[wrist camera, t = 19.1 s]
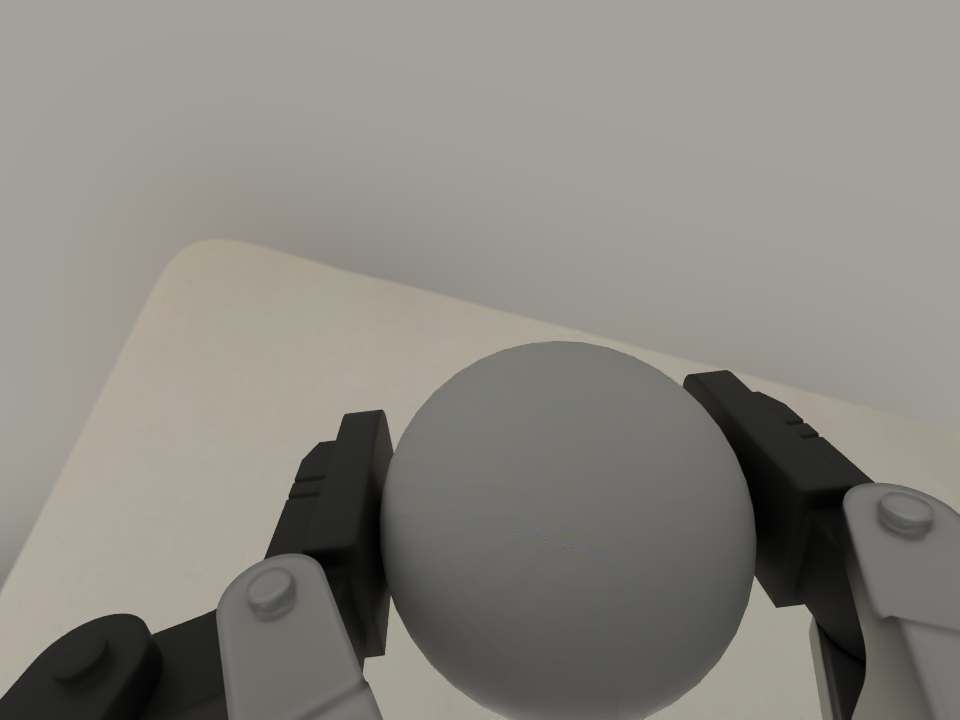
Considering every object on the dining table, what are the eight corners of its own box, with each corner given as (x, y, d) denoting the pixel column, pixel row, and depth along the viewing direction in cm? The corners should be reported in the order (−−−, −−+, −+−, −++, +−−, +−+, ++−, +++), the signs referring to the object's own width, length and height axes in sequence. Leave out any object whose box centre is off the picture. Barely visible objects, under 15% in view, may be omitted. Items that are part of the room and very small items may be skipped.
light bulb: (641, 639, 15) (923, 818, 5) (426, 642, 15) (309, 824, 5) (619, 426, 16) (795, 271, 7) (429, 430, 17) (350, 279, 7)
